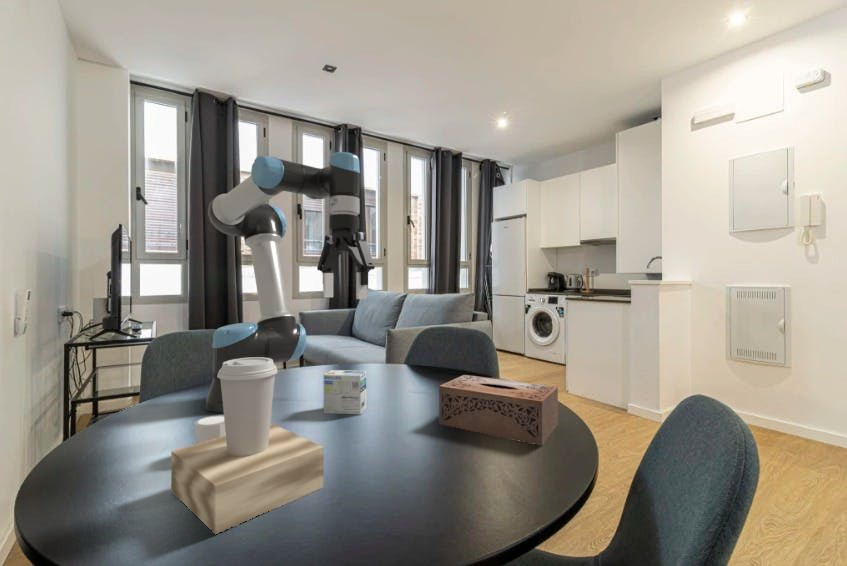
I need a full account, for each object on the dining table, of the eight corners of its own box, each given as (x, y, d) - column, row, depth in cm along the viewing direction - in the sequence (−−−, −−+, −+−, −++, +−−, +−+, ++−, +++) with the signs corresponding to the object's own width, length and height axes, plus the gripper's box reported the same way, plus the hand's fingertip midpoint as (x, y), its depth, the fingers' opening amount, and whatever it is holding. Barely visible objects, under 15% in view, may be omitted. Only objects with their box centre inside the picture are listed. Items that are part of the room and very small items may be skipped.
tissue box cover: (557, 427, 101) (557, 387, 101) (542, 447, 88) (542, 401, 88) (464, 410, 114) (464, 374, 114) (439, 425, 102) (439, 385, 102)
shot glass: (193, 463, 80) (193, 427, 80) (194, 450, 86) (194, 417, 86) (231, 456, 83) (231, 422, 83) (230, 444, 89) (230, 412, 89)
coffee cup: (219, 442, 72) (219, 358, 72) (276, 434, 76) (276, 355, 76) (214, 464, 63) (214, 369, 63) (278, 455, 67) (279, 364, 67)
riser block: (171, 492, 69) (171, 450, 69) (271, 457, 82) (271, 423, 82) (215, 535, 57) (215, 485, 57) (323, 487, 70) (323, 446, 70)
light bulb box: (367, 407, 115) (367, 369, 115) (361, 415, 109) (361, 375, 109) (330, 406, 116) (330, 369, 116) (322, 414, 110) (322, 374, 110)
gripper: (304, 218, 109) (304, 297, 109) (365, 207, 92) (365, 300, 92) (327, 221, 114) (327, 296, 114) (389, 211, 98) (388, 299, 98)
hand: (344, 298), depth 103 cm, fingers open, 13 cm apart
